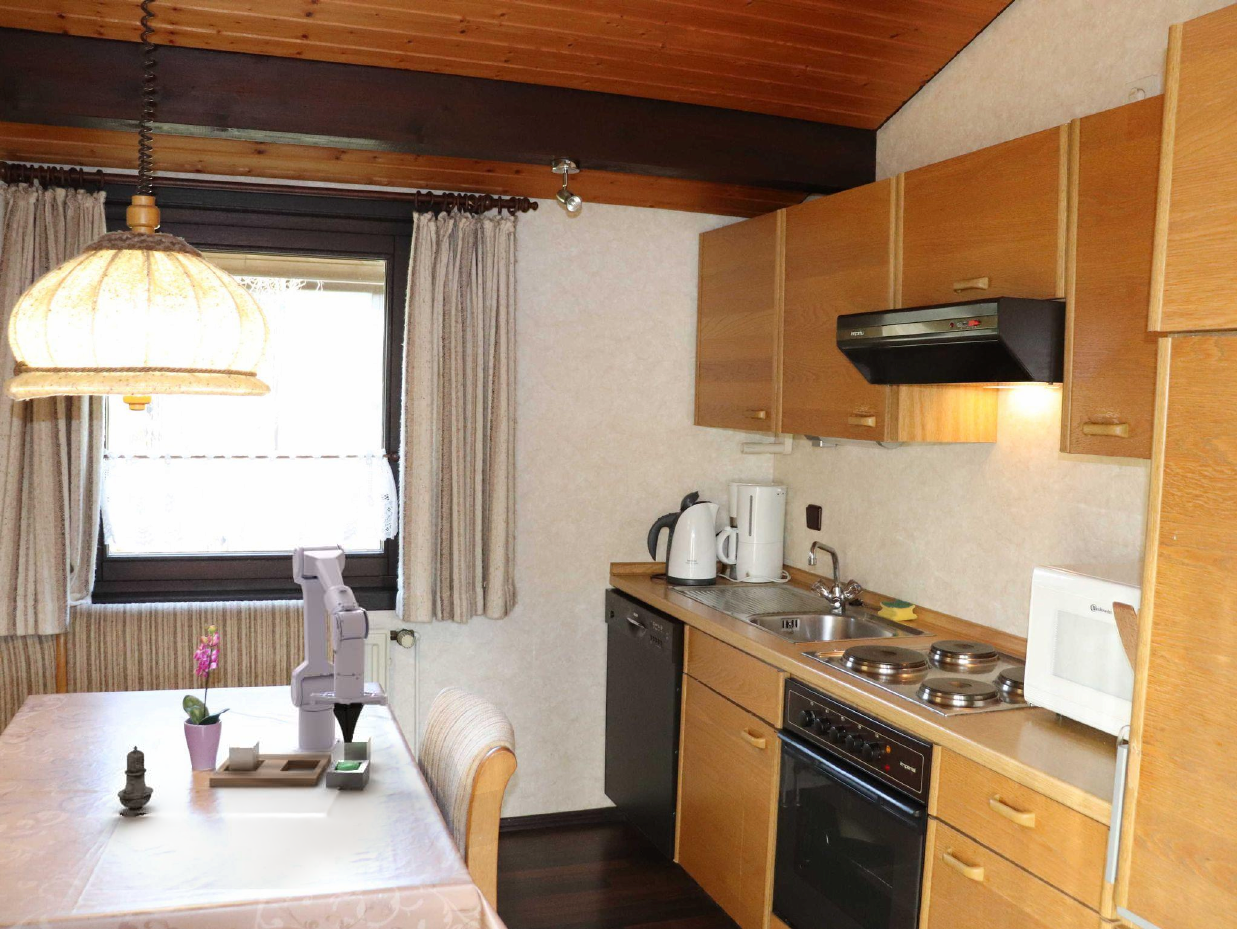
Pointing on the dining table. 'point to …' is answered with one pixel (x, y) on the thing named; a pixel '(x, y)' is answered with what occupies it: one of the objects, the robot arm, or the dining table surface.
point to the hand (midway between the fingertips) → (348, 741)
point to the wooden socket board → (275, 772)
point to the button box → (348, 776)
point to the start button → (348, 765)
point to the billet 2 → (358, 748)
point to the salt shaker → (135, 784)
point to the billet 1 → (244, 755)
